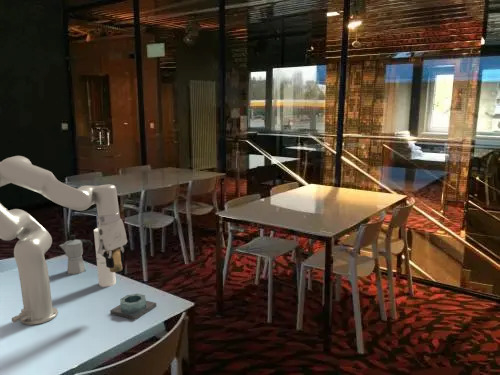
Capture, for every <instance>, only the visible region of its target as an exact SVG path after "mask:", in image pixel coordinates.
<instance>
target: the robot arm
mask: <svg viewBox="0 0 500 375" xmlns="http://www.w3.org/2000/svg"><path fill="white" fill-rule="evenodd" d="M8 184H13V185H16V186H19V187H22V188H24V189H27V190H30V191H33V192H36V193H38V194H40V195H42V196H43V197H44V198H46V199H47V200H50V201H52V202H53V203H55V204H57V205H60V206H62V207H65V208H67V209H70V210H74V211H79V212H80V211H81V212H82V211H85V210H87V209H89V208H90V207H91V206H92V205H96V210H97V216H98V217H97V220H96V221H97V222H98V225H97V228H98V241H99V249H98V252H97V253H98V254H100V255H102V256H103V257H104V258H105V259H106V266H107V267H108V268H114V262H113V258H112V257H111V255H112V250H114V249H116V248H120V254H121V262H122V264H124V263H125V259H124V252H125V248H126V246H127V243H128V239H127V233H126V228H125V225H124V222H123V219H122V218H121V216H120V208H119V207H120V206H119V201H118V200H119V199H118V193H117V192H118V191H117V186H116V185H114V184H112V183H111V184H100V185H81V186H80V187H78V188H77V187H73V186H71V185H68V184H65V183H64V182H61V181H60V180H58V179H57V177H56V176H55V175H54V174H53V172H52V171H50V170H48V169H45V168H43V167H40V166H37V165H34V164H32V162H31V161H30V159H29V158H27V157H25V156H22V155H15V156H11V157H6V158H5V159H3V160H2V161H0V187H3V186H6V185H8ZM16 238H17V239H18V241H17V242H16V244H15V245H14V248H13V257H14V260H15V263H16V266H17V270H18V271H17V272H18V277H19V278H18V279H19V282H20V283H19V284H20V290H21V291H20V292H21V298H22V305H23V308H22V309H21V310H20V313H18V315H15V316H13V317H11V322H12V323H13V324H15V323H16V322H18V321H20V322H21V324H23V325H28V326H29V325H30V326H33V325H40V324H44V323H47V322H50V321H51V320H53V319H55V318H56V317H57V316H58V314H59V313H58V312H59V311H58V308H56V307H54V306H53V300H52V298H53V297H52V291H51V284H50V283H51V282H50V275H49V269H48V264H47V261H46V259H45V254H46V252H48V250H50V249H51V246H52V244H53V238H52V235H51V234H50V233H49V231H48V230H47V229H46V228H45V227H43V225H42V224H40V223H39V222H38V220H36V218H35V217H33V216H32V215H31V214H30V213H28V212H27V211H25V210H23V209H19V208H13V209H10V210H8V208H6V207H5V206H4V205H3V204H2V203H1V202H0V239H1V240H2V241H12V240H14V239H16ZM103 250H104V251H103ZM107 251H108V254H107Z"/></svg>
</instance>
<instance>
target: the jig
mask: <svg viewBox="0 0 500 375" xmlns="http://www.w3.org/2000/svg"><path fill="white" fill-rule="evenodd" d="M156 307H157V302H153V301H149V300H147V298H146V294H142V293H141V294H140V293H133V294H132V293H131V294H126V295H125V296H123V297H121V298H120V304H119V305H117V306H115V307H113V308H112V309H110V315H112V316H118V317H121V318H125V319H128V320H132V321H136V320H138V319H139V318H140V317H143V316H144V315H145V314H147V313H148V312H150V311H151V310H153V309H155V308H156Z"/></svg>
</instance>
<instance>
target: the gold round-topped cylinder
mask: <svg viewBox="0 0 500 375" xmlns="http://www.w3.org/2000/svg"><path fill="white" fill-rule="evenodd" d="M107 254H108V251H107ZM111 257H112V258H113V262H114V268H109V269H110V272H115V273H119V272H122V271H123V263H122V262H121V254H120V248H116V249H114V250H112V255H111Z"/></svg>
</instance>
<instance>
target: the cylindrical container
mask: <svg viewBox="0 0 500 375" xmlns="http://www.w3.org/2000/svg"><path fill="white" fill-rule="evenodd" d="M93 235H94V246H95V256H96V257H95V258H96V266H97V274H98V275H97V277H98V285H99V287H103V288H106V287H111V286H115V284H116V283H117V279H116V277H117V276H116V272H110V269H109V268H108V267H107V266H106V259H105V258H104V257H103V256H102V255H100V254H98V253H97V252H98V249H99V241H98V227H95V229H93ZM103 251H104V250H103Z"/></svg>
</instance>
